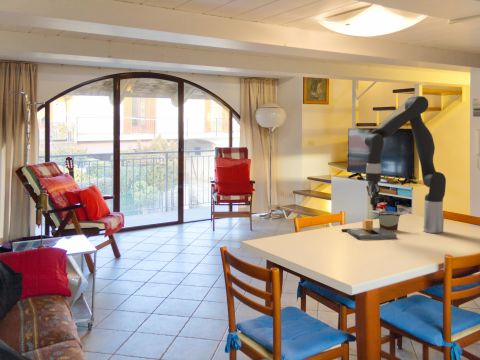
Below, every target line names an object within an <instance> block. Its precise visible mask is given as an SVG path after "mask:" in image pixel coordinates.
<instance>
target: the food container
mask: <svg viewBox="0 0 480 360" xmlns="http://www.w3.org/2000/svg"><path fill="white" fill-rule="evenodd" d="M377 217H378V222H379V223H378V225H379V228H384V229H386V230H388V231H390V232H395V231H396V232H397V231H398V228H399V227H398V226H399V221H400V217H401V214H400V212H397V211H392V210H385V211H384V210H382V211H379V212H378V213H377Z"/></svg>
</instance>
